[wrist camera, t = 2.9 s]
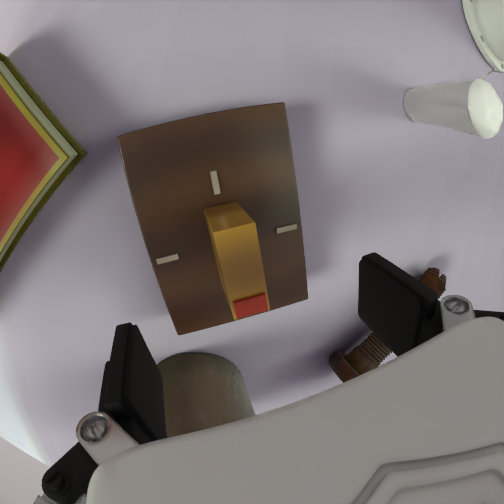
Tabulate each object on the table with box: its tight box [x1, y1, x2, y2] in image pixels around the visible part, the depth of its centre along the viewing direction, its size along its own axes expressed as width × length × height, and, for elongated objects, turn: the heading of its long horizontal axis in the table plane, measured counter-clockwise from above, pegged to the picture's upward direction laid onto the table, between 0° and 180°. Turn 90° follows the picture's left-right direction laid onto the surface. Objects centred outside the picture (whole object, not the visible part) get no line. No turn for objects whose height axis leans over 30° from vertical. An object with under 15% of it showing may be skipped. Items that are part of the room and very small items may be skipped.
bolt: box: [329, 268, 446, 383], centre depth 27 cm, size 6×5×15 cm
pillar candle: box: [157, 353, 255, 438], centre depth 20 cm, size 10×10×15 cm
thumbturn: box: [204, 202, 270, 320], centre depth 16 cm, size 5×2×5 cm, turn 10°
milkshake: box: [403, 69, 503, 139], centre depth 16 cm, size 5×5×10 cm
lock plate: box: [117, 102, 308, 335], centre depth 19 cm, size 14×10×3 cm
